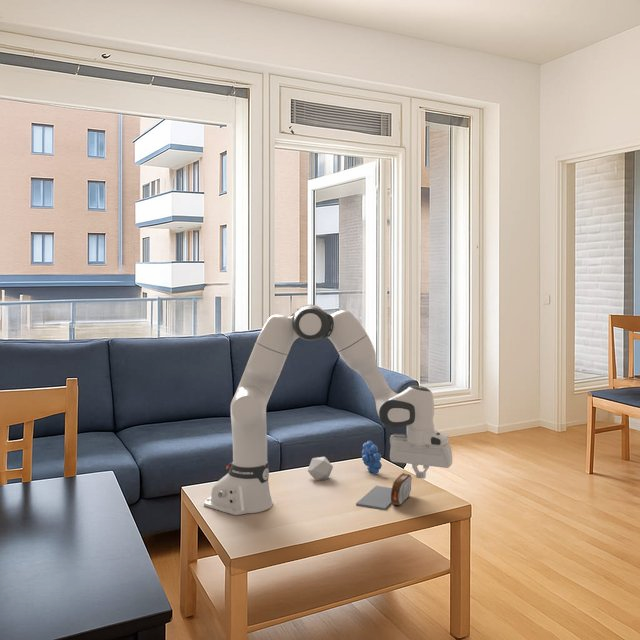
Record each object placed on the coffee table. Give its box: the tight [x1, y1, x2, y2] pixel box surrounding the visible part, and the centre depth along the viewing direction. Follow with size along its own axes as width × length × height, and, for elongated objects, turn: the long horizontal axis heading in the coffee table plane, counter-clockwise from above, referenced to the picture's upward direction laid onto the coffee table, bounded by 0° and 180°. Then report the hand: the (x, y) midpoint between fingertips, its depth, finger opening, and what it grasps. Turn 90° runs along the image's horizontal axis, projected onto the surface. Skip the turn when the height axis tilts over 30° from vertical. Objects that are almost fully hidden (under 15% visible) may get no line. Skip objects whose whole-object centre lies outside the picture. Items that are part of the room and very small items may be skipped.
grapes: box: [361, 440, 383, 475], centre depth 235 cm, size 12×7×12 cm, turn 29°
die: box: [307, 456, 334, 482], centre depth 229 cm, size 8×9×10 cm
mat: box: [355, 485, 393, 511], centre depth 208 cm, size 10×19×1 cm, turn 155°
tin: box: [391, 472, 413, 506], centre depth 205 cm, size 15×3×8 cm, turn 155°
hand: (420, 477), depth 202 cm, fingers closed
